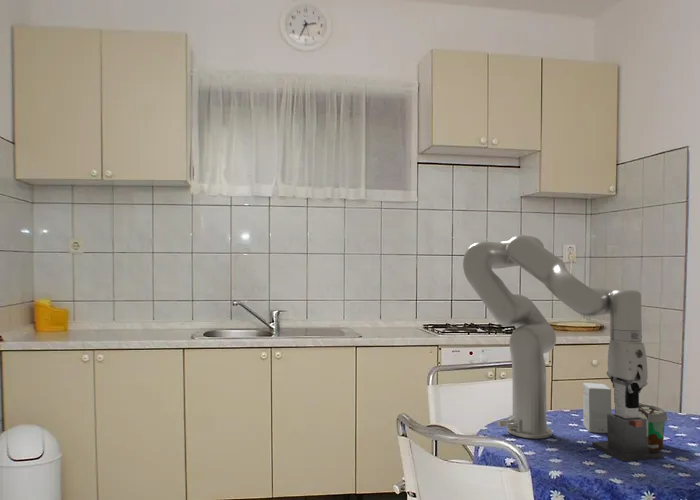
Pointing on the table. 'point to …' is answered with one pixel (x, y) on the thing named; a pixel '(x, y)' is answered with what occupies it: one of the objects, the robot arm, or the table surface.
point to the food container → (654, 425)
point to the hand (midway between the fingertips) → (626, 404)
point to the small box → (596, 407)
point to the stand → (627, 440)
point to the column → (623, 401)
